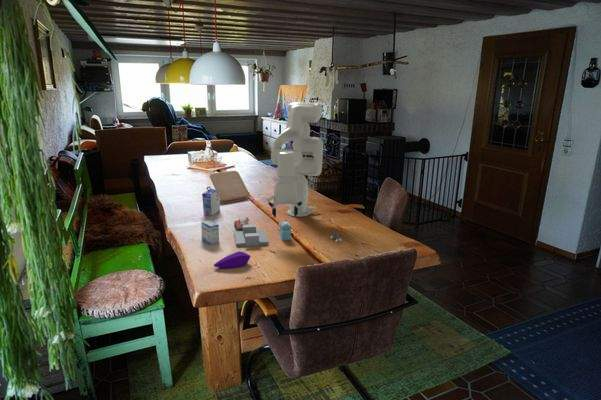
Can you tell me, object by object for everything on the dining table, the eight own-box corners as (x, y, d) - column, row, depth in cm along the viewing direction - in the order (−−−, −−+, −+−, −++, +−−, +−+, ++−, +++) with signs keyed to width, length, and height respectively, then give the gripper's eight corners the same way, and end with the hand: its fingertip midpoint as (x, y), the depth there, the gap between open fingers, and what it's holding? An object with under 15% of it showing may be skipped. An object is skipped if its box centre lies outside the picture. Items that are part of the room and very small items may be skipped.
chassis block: (263, 232, 192) (263, 223, 191) (268, 244, 178) (268, 235, 177) (234, 234, 189) (234, 225, 188) (236, 246, 175) (236, 237, 174)
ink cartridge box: (211, 209, 225) (210, 184, 220) (220, 210, 223) (219, 185, 219) (202, 214, 215) (201, 188, 211) (211, 216, 214) (211, 189, 210)
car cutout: (325, 239, 188) (326, 230, 187) (337, 237, 191) (338, 228, 190) (342, 251, 175) (343, 241, 174) (355, 248, 178) (356, 239, 177)
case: (221, 205, 234) (220, 178, 229) (204, 196, 249) (203, 171, 245) (250, 200, 246) (250, 174, 242) (233, 192, 262) (233, 168, 257)
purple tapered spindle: (211, 257, 155) (248, 248, 161) (213, 269, 157) (249, 259, 163) (214, 262, 151) (252, 252, 157) (216, 274, 153) (253, 264, 158)
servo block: (286, 233, 193) (287, 218, 190) (291, 241, 183) (291, 225, 181) (278, 233, 192) (278, 218, 190) (282, 242, 182) (282, 226, 180)
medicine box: (201, 239, 182) (200, 221, 180) (210, 237, 185) (209, 219, 183) (211, 244, 177) (210, 226, 174) (219, 242, 180) (219, 224, 177)
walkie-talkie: (255, 233, 192) (248, 220, 211) (255, 225, 191) (248, 212, 209) (237, 235, 190) (232, 221, 208) (237, 226, 188) (231, 213, 207)
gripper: (302, 177, 185) (301, 213, 189) (265, 178, 181) (265, 214, 185) (306, 180, 178) (305, 217, 182) (267, 181, 174) (267, 219, 178)
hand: (284, 215), depth 184 cm, fingers open, 9 cm apart
